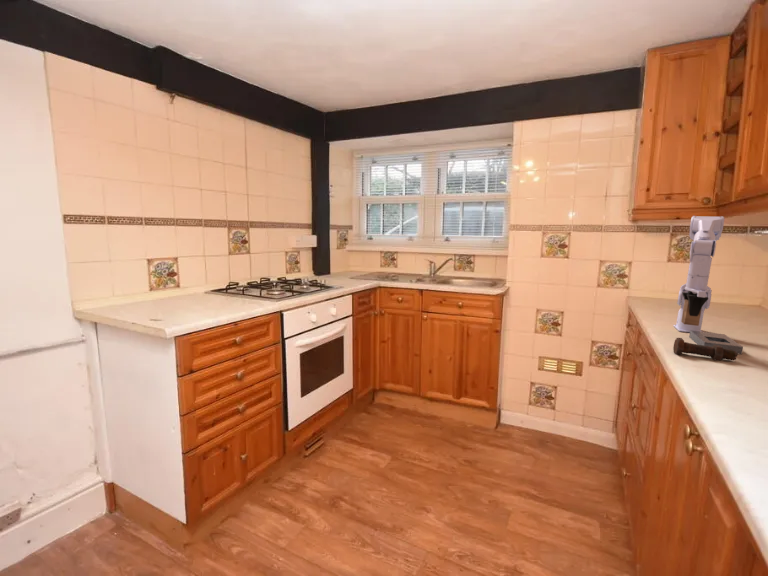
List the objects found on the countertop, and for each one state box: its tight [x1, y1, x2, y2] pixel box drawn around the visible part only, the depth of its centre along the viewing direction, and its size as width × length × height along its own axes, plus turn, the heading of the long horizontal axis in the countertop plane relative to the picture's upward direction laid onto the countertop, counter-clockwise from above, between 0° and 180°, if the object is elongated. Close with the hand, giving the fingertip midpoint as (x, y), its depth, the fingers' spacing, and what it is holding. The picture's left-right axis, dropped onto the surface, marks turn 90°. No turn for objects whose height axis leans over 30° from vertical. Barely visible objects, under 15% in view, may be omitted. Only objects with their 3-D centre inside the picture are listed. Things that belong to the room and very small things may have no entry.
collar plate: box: [688, 330, 744, 355], centre depth 136 cm, size 16×10×2 cm, turn 156°
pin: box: [681, 300, 702, 326], centre depth 137 cm, size 4×4×8 cm
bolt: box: [672, 337, 738, 362], centre depth 123 cm, size 6×5×15 cm
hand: (691, 314), depth 137 cm, fingers closed on pin, 4 cm apart
